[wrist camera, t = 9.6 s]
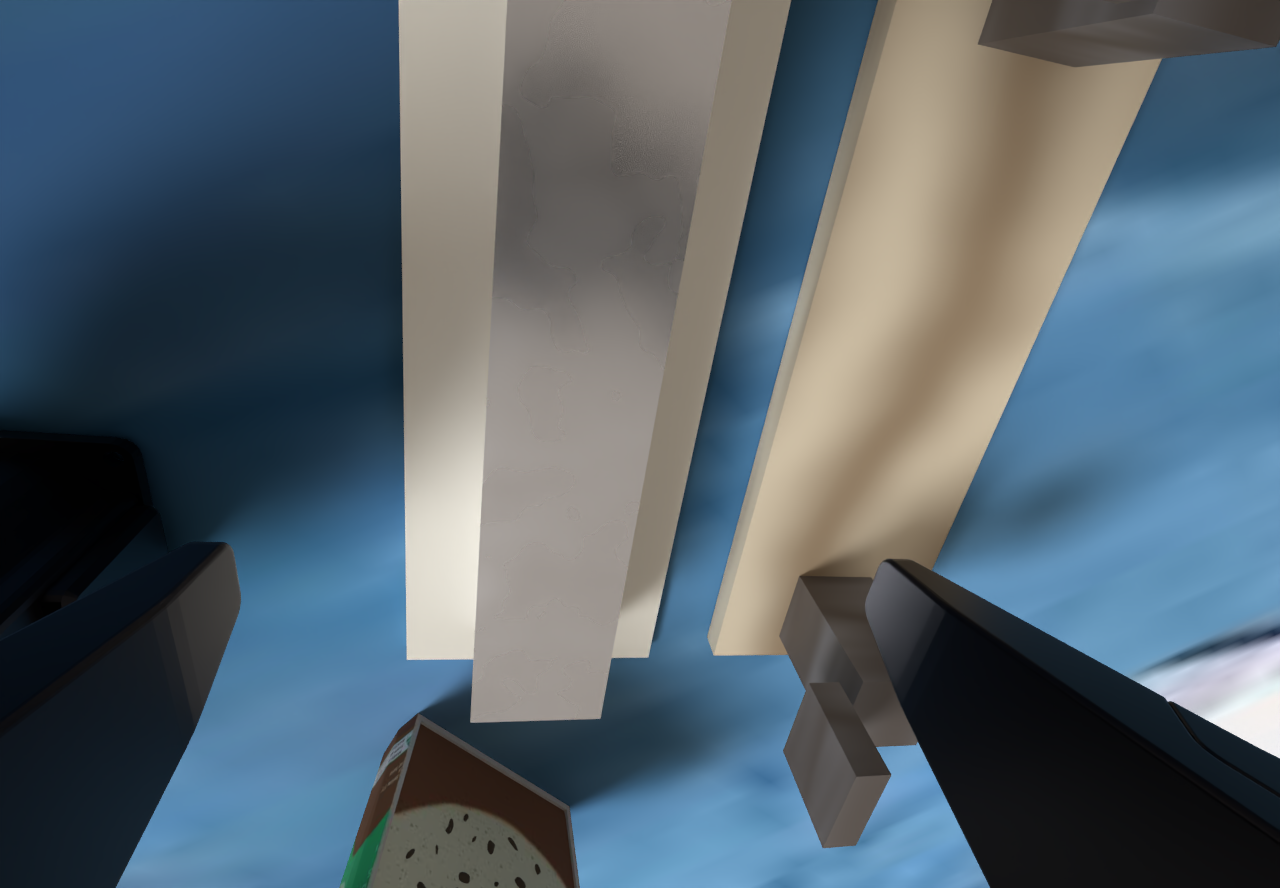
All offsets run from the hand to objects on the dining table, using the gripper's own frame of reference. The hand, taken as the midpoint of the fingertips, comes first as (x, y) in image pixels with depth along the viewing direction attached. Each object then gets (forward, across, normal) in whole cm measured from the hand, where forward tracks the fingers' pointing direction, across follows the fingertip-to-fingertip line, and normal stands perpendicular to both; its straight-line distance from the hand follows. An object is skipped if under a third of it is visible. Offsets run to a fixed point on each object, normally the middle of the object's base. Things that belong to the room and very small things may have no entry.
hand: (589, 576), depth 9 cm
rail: (+10, 0, -1) cm, 11 cm away
